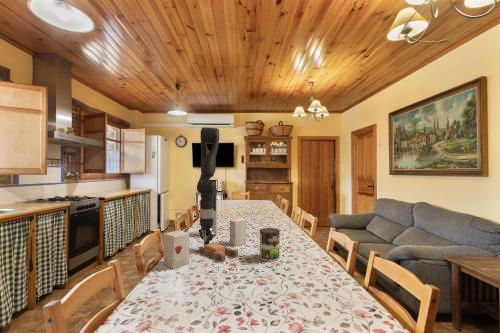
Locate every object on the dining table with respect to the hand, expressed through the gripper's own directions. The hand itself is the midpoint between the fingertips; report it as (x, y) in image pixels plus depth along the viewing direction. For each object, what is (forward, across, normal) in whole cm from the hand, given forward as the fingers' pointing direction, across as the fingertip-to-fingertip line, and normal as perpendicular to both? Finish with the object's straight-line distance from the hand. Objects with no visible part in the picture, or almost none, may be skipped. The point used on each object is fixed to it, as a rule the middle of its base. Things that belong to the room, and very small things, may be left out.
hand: (206, 247), depth 143 cm
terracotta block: (+1, +7, 0) cm, 7 cm away
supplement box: (+2, +6, -22) cm, 23 cm away
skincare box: (+2, +4, +20) cm, 21 cm away
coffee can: (+2, +32, +16) cm, 36 cm away
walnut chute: (+2, +10, 0) cm, 10 cm away
